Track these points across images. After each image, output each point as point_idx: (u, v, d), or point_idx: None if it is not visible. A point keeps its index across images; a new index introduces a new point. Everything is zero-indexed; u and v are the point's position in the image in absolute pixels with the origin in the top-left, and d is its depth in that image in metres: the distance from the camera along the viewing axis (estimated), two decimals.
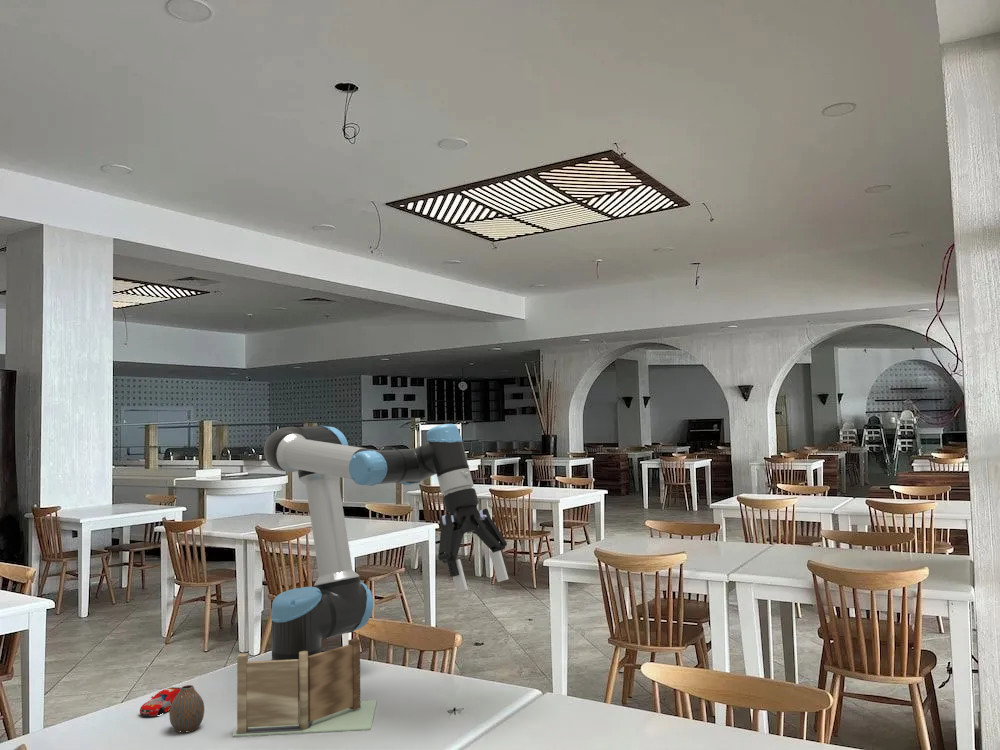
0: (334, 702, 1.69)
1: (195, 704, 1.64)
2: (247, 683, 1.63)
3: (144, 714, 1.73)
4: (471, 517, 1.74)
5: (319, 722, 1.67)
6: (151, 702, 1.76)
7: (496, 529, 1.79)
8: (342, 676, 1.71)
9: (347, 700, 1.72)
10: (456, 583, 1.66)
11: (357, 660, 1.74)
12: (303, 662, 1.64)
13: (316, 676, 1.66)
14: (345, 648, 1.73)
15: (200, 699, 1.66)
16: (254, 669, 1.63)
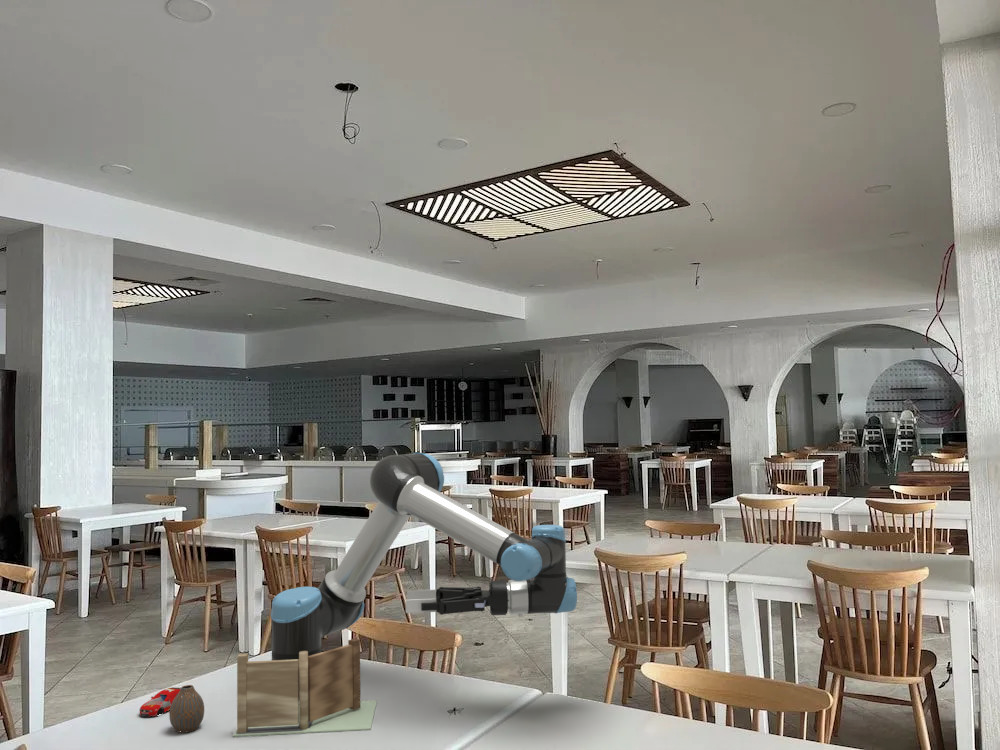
0: (334, 702, 1.69)
1: (195, 704, 1.64)
2: (247, 683, 1.63)
3: (143, 714, 1.73)
4: None
5: (319, 722, 1.67)
6: (151, 702, 1.76)
7: None
8: (342, 676, 1.71)
9: (347, 700, 1.72)
10: (414, 602, 1.69)
11: (357, 660, 1.74)
12: (303, 662, 1.64)
13: (316, 676, 1.66)
14: (345, 648, 1.73)
15: (200, 699, 1.66)
16: (254, 669, 1.63)
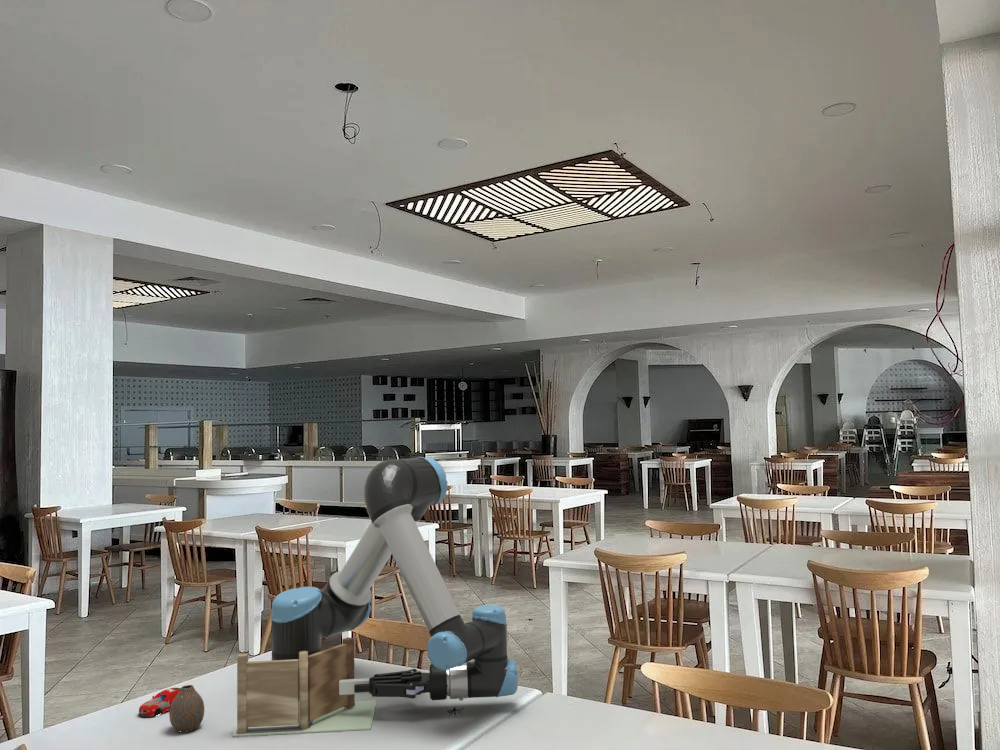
0: (331, 701, 1.70)
1: (195, 704, 1.64)
2: (247, 683, 1.63)
3: (141, 714, 1.73)
4: None
5: (319, 722, 1.67)
6: (150, 702, 1.76)
7: None
8: (338, 675, 1.72)
9: (343, 699, 1.73)
10: (347, 684, 1.71)
11: (352, 659, 1.76)
12: (303, 662, 1.64)
13: (315, 676, 1.67)
14: (341, 647, 1.73)
15: (200, 699, 1.66)
16: (254, 669, 1.63)
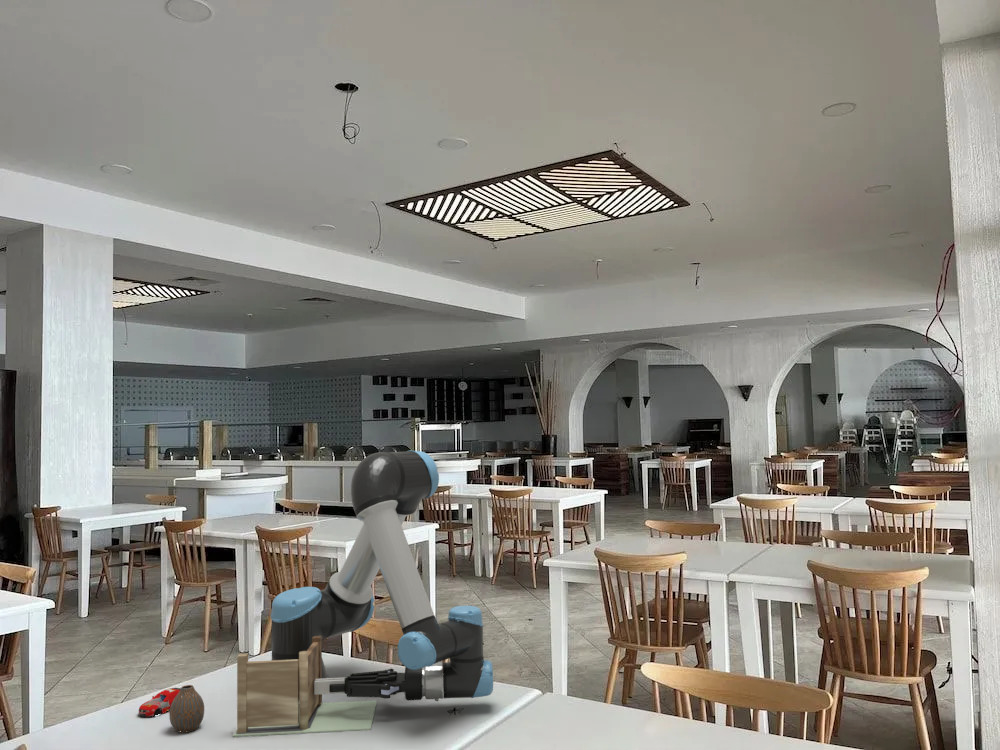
0: (314, 699, 1.72)
1: (195, 704, 1.64)
2: (247, 683, 1.63)
3: (141, 714, 1.73)
4: None
5: (319, 722, 1.67)
6: (150, 702, 1.76)
7: None
8: (316, 673, 1.74)
9: (317, 696, 1.75)
10: (323, 684, 1.71)
11: (321, 656, 1.78)
12: (303, 662, 1.64)
13: (309, 675, 1.67)
14: (316, 645, 1.75)
15: (200, 699, 1.66)
16: (254, 669, 1.63)
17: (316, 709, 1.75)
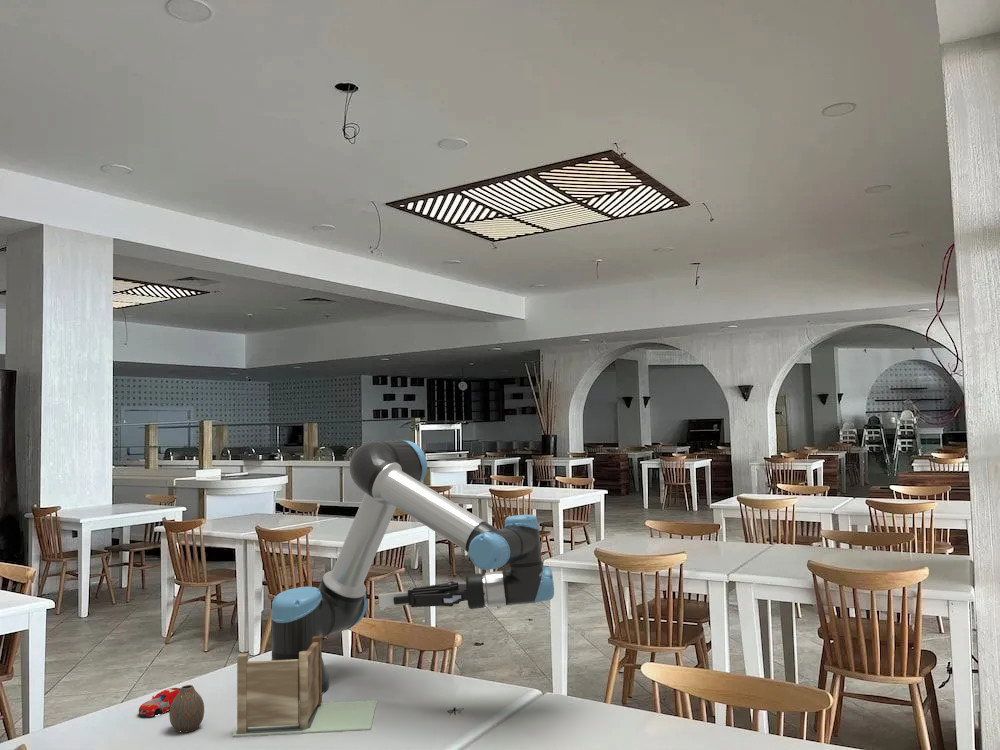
0: (314, 699, 1.72)
1: (195, 704, 1.64)
2: (247, 683, 1.63)
3: (141, 714, 1.73)
4: None
5: (319, 722, 1.67)
6: (150, 702, 1.76)
7: None
8: (316, 673, 1.74)
9: (317, 696, 1.75)
10: (387, 597, 1.74)
11: (321, 656, 1.78)
12: (303, 662, 1.64)
13: (309, 675, 1.67)
14: (316, 645, 1.75)
15: (200, 699, 1.66)
16: (254, 669, 1.63)
17: (316, 709, 1.75)
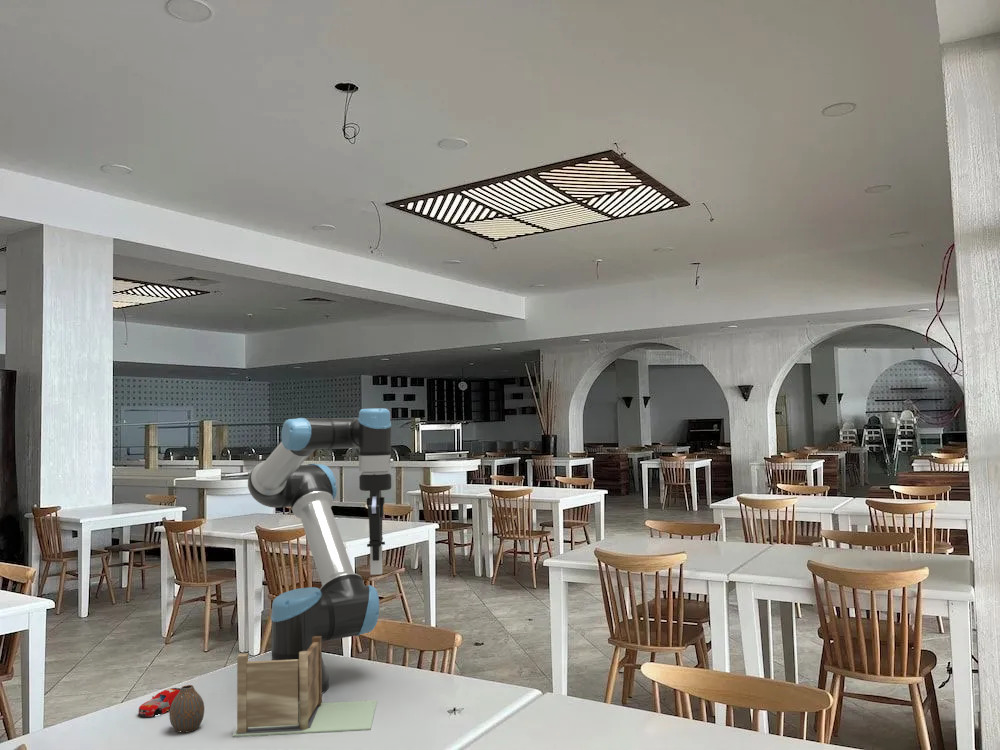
0: (314, 699, 1.72)
1: (195, 704, 1.64)
2: (247, 683, 1.63)
3: (141, 714, 1.73)
4: (381, 498, 1.87)
5: (319, 722, 1.67)
6: (150, 702, 1.76)
7: None
8: (316, 673, 1.74)
9: (317, 696, 1.75)
10: (372, 566, 1.84)
11: (321, 656, 1.78)
12: (303, 662, 1.64)
13: (309, 675, 1.67)
14: (316, 645, 1.75)
15: (200, 699, 1.66)
16: (254, 669, 1.63)
17: (316, 709, 1.75)
